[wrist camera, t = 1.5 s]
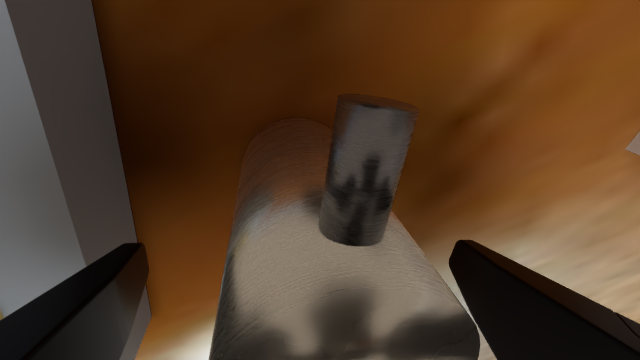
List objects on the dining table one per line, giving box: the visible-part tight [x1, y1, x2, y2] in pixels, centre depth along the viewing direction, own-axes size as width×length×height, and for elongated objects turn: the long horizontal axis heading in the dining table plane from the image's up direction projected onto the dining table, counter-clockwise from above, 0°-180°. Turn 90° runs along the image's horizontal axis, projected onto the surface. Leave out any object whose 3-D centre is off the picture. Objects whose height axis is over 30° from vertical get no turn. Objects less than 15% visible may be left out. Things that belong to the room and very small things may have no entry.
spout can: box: [209, 94, 480, 360], centre depth 8 cm, size 7×5×9 cm
